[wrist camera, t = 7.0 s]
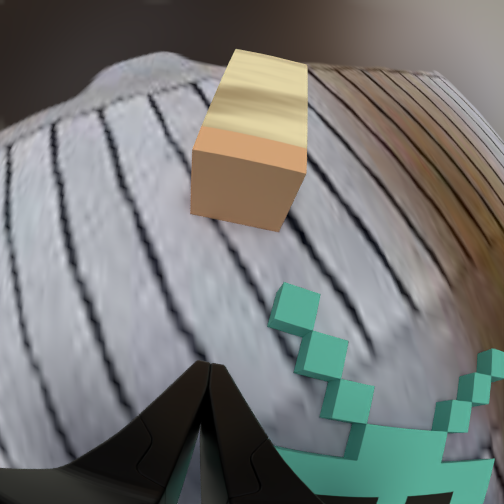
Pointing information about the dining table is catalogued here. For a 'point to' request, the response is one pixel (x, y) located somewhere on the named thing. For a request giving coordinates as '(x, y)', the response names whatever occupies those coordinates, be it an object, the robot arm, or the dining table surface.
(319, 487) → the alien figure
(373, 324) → the dining table surface
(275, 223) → the maple block
